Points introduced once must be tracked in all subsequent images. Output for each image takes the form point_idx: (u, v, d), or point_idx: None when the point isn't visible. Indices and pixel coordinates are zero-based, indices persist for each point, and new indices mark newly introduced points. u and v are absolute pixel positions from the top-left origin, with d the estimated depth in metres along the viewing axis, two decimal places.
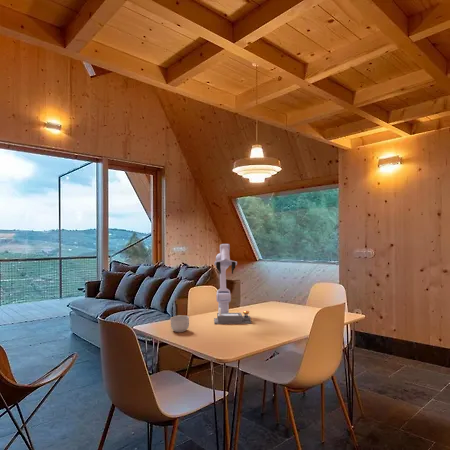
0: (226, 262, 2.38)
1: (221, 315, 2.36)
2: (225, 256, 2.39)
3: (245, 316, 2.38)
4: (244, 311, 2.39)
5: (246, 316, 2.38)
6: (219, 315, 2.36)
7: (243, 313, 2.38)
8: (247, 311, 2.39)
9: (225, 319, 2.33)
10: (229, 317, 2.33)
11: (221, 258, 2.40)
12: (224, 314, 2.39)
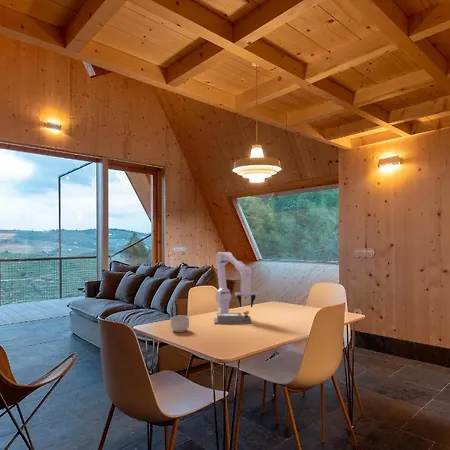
0: None
1: (221, 315, 2.36)
2: (246, 289, 2.37)
3: (245, 316, 2.38)
4: (244, 311, 2.39)
5: (246, 316, 2.38)
6: (219, 315, 2.36)
7: (243, 313, 2.38)
8: (247, 311, 2.39)
9: (225, 319, 2.33)
10: (229, 317, 2.33)
11: (242, 289, 2.38)
12: (224, 314, 2.39)
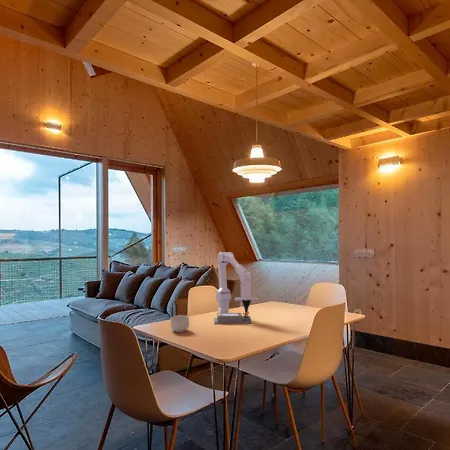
0: None
1: (221, 315, 2.36)
2: (246, 294, 2.37)
3: None
4: (244, 312, 2.39)
5: None
6: (219, 315, 2.36)
7: (243, 313, 2.38)
8: (247, 312, 2.39)
9: (225, 319, 2.33)
10: (229, 317, 2.33)
11: (242, 294, 2.38)
12: (224, 314, 2.39)
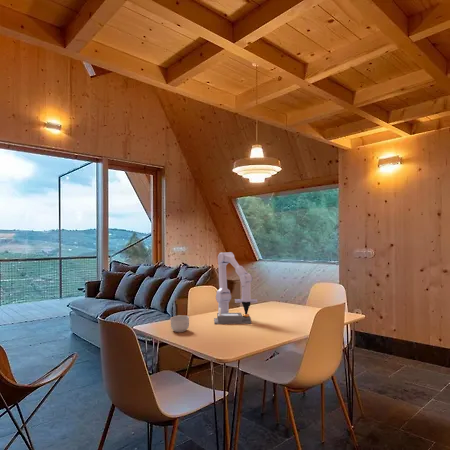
0: None
1: (221, 315, 2.36)
2: (246, 296, 2.37)
3: None
4: (244, 314, 2.39)
5: None
6: (219, 315, 2.36)
7: (243, 316, 2.38)
8: (247, 314, 2.39)
9: (225, 319, 2.33)
10: (229, 317, 2.33)
11: (242, 295, 2.38)
12: (224, 314, 2.39)
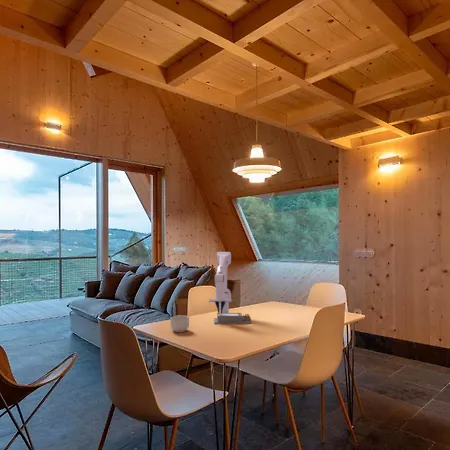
0: None
1: (221, 315, 2.36)
2: (220, 295, 2.36)
3: None
4: (244, 314, 2.39)
5: None
6: (219, 315, 2.36)
7: (243, 316, 2.38)
8: (247, 314, 2.39)
9: (225, 319, 2.33)
10: (229, 317, 2.33)
11: (216, 295, 2.37)
12: (224, 314, 2.39)
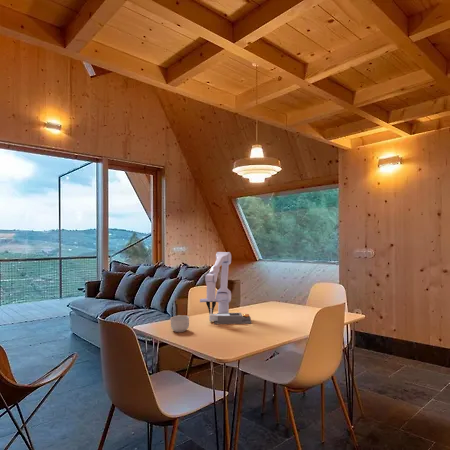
0: None
1: (212, 315, 2.36)
2: (211, 295, 2.35)
3: None
4: (244, 314, 2.39)
5: None
6: (210, 315, 2.36)
7: (243, 316, 2.38)
8: (247, 314, 2.39)
9: (225, 319, 2.33)
10: (229, 317, 2.33)
11: None
12: (215, 314, 2.39)
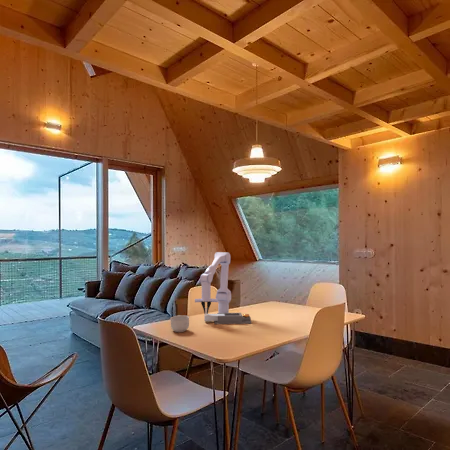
0: None
1: (207, 315, 2.35)
2: (205, 295, 2.35)
3: None
4: (244, 314, 2.39)
5: None
6: (205, 315, 2.35)
7: (243, 316, 2.38)
8: (247, 314, 2.39)
9: (225, 319, 2.33)
10: (229, 317, 2.33)
11: (202, 295, 2.37)
12: (210, 314, 2.38)
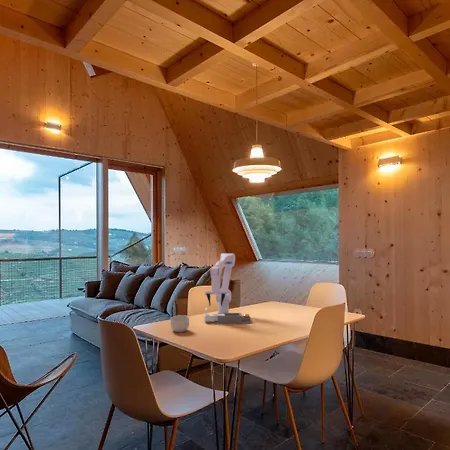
0: None
1: (207, 315, 2.35)
2: (215, 288, 2.42)
3: None
4: (244, 314, 2.39)
5: None
6: (205, 315, 2.35)
7: (243, 316, 2.38)
8: (247, 314, 2.39)
9: (225, 319, 2.33)
10: (229, 317, 2.33)
11: None
12: (210, 314, 2.38)
